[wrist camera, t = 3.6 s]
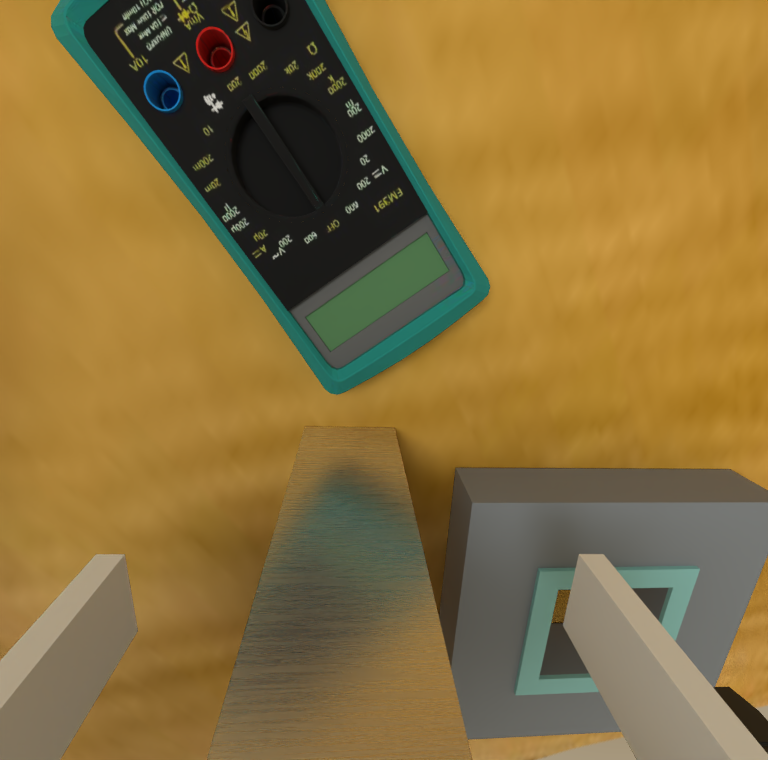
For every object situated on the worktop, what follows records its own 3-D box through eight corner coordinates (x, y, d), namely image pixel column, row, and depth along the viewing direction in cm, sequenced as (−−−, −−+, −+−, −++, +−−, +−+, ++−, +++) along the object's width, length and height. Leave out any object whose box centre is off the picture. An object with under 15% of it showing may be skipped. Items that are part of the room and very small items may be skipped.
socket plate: (431, 684, 23) (442, 745, 20) (455, 467, 19) (474, 505, 16) (660, 675, 24) (701, 731, 21) (730, 469, 20) (793, 505, 17)
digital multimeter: (252, -104, 13) (222, -208, 10) (479, 290, 17) (504, 297, 14) (80, 42, 13) (7, -15, 11) (338, 385, 18) (334, 409, 15)
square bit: (306, 504, 19) (209, 989, 6) (305, 426, 18) (184, 834, 5) (390, 504, 19) (456, 964, 7) (394, 427, 18) (484, 814, 5)
